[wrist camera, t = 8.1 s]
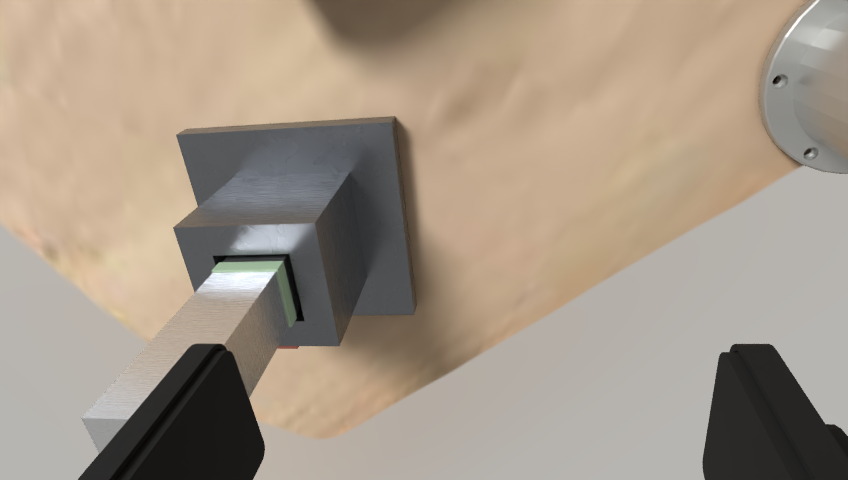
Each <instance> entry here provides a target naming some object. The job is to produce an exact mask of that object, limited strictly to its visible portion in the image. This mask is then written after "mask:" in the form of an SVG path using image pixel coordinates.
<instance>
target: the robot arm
mask: <svg viewBox="0 0 848 480" xmlns="http://www.w3.org/2000/svg"><path fill="white" fill-rule="evenodd" d="M776 76H778V79H777V81H775V82H774V83H772V82H773V80H774V78H775V77H776ZM759 108H760V113H761V119H762V122H763V124H764V126H765V128H766V131H767V133H768V135H769V136H770V138H771V139H772V140H773V141H774V143H775V144H776V145H777V146H778V148H780V149H781V150H782V151H784V152H785V153H786V154H787V155H789V156H790V157H791V158H793V159H794V160H796V161H798V162H799V163H801V164H803V165H805V166H808V167H811V168H814V169H817V170H820V171H825V172H832V173H839V174H847V173H848V0H809V1H808V2H806V3H805V4H804V5H803V6H802V7H801V8H800V9H799V10H798V11H797V12H796V13H795V15H794V16H793V17H792V18H791V19H790V20H789V21H788V23H787V24H786V25H785V26H784V28H783V29H782V31H781V33H780V34H779V36H778V37H777V39H776V40H775V42H774V43H773V45H772V47H771V50H770V52H769V54H768V57H767V59H766V61H765V63H764V66H763V71H762V75H761V79H760V83H759ZM807 149H808V150H807ZM806 150H807V151H806ZM805 151H806V152H805ZM264 451H265V445H264V441H263V438H262V435H261V432H260V429H259V426H258V423H257V421H256V418H255V415H254V412H253V409H252V406H251V403H250V400H249V397H248V395H247V392H246V389H245V386H244V383H243V380H242V377H241V374H240V371H239V369H238V366H237V363H236V360H235V357H234V355H233V353H232V352H231V351H227V349H226V347H225V346H224V345H223V344H204V343H196V344H193V345H191V346H190V347H189V348H188V349H187V350H186V352H185V353H184V354H183V355H182V356H181V358H180V359H179V360H178V361H177V362H176V364H175V365H174V366H173V367H172V368H171V369H170V371H169V372H168V373H167V374H166V375H165V377H164V378H163V379H162V380H161V381H160V383H159V384H158V385H157V386H156V387H155V388H154V390H153V391H152V392H151V393H150V394H149V396H148V397H147V398H146V399H145V400H144V401H143V403H142V404H141V405H140V406H139V407H138V409H137V410H136V411H135V412H134V413H133V415H132V416H131V417H130V418H129V419H128V420H127V422H126V423H125V424H124V425H123V426H122V428H121V429H120V430H119V431H118V432H117V434H116V435H115V436H114V437H113V438H112V439H111V441H110V442H109V443H108V444H107V445H106V447H105V448H104V449H103V450H102V451H101V453H100V454H99V455H98V456H97V457H96V459H95V460H94V461H93V462H92V463H91V464H90V466H89V467H88V468H87V469H86V470H85V472H84V473H83V474H82V475H81V476H80V477H79V479H78V480H253V478H254V476H255V474H256V472H257V470H258V468H259V466H260V464H261V462H262V460H263V457H264ZM703 473H704V477H705V480H848V436H847V435H846V434H845V433H844V431H842V429H841V428H839V427H837V426H836V425H829V424H825V423H824V422H823V420H822V419H821V417H820V416H819V414H818V413H817V411H816V409H815V408H814V406H813V405H812V403H811V402H810V400H809V399H808V397H807V396H806V394H805V393H804V392H803V390H802V388H801V387H800V385H799V384H798V382H797V381H796V379H795V378H794V376H793V375H792V373H791V372H790V370H789V369H788V367H787V366H786V364H785V362H784V361H783V360H782V358H781V356H780V355H779V353H778V352H777V350H776V349H775V348H774V347H773V346H772V345H770V344H734V345H732V347H731V349H730V352H723V353H721V354H720V356H719V361H718V367H717V373H716V379H715V386H714V392H713V398H712V405H711V411H710V417H709V423H708V429H707V436H706V443H705V449H704V455H703Z"/></svg>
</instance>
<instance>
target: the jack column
mask: <svg viewBox="0 0 848 480" xmlns="http://www.w3.org/2000/svg"><path fill="white" fill-rule="evenodd" d="M300 307H301V303H300V299H299V294H298V290H297V286H296V281H295V277H294V273H293V269H292V264H291V260H290V256H289V254H263V255H228V257H227V258H226V259H225V260H224V261H223V262H219V263H218V264H217V265H216V266H215V267H214V268H213V270H212V274H211V275H210V276H209V278H208V279H207V280H206V281H205V282H204V283H203V284H202V285H201V286H200V287H199V289H198V290H197V291H196V292H195V293H194V294H193V295H192V296H191V297H190V299H189V300H188V301H187V302H186V303H185V304H184V305H183V306H182V307H181V308H180V310H179V311H178V312H177V313H176V314H175V315H174V316H173V317H172V318H171V320H170V321H169V322H168V323H167V324H166V325H165V326H164V327H163V328H162V329H161V331H160V332H159V333H158V334H157V335H156V336H155V337H154V338H153V339H152V341H151V342H150V343H149V344H148V345H147V346H146V347H145V348H144V349H143V350H142V352H141V353H140V354H139V355H138V356H137V357H136V358H135V360H133V362H132V363H131V364H130V365H129V366H128V367H127V368H126V369H125V370H124V371H123V373H122V374H121V375H120V376H119V377H118V378H117V379H116V380H115V381H114V383H113V384H112V385H111V386H110V387H109V388H108V389H107V390H106V391H105V393H104V394H103V395H102V396H101V397H100V398H99V399H98V400H97V401H96V403H95V404H94V405H93V406H92V407H91V408H90V409H89V410H88V411H87V413H85V415H84V416H83V417H82V420H83V422H84V424H85V426H86V428H87V430H88V432H89V434H90V436H91V438H92V440H93V442H94V444H95V446H96V448H97V450H98V452H99V454H100V453H101V451H102V450H103V449H104V448H105V447H106V445H107V444H108V443H109V442H110V441H111V439H112V438H113V437H114V436H115V435H116V434H117V432H118V431H119V430H120V429H121V428H122V426H123V425H124V424H125V423H126V422H127V420H128V419H129V418H130V417H131V416H132V415H133V413H134V412H135V411H136V410H137V409H138V407H139V406H140V405H141V404H142V403H143V401H144V400H145V399H146V398H147V397H148V396H149V394H150V393H151V392H152V391H153V390H154V388H155V387H156V386H157V385H158V384H159V383H160V381H161V380H162V379H163V378H164V377H165V375H166V374H167V373H168V372H169V371H170V369H171V368H172V367H173V366H174V365H175V364H176V362H177V361H178V360H179V359H180V358H181V356H182V355H183V354H184V353H185V352H186V350H187V349H188V348H189V347H190V346H191V345H193V344H196V343H204V344H223V345H224V346H225V347H226V349H227V351H231V352H232V353H233V355H234V357H235V360H236V363H237V366H238V369H239V371H240V374H241V377H242V380H243V383H244V386H245V389H246V392H247V395H248V397H250V396H251V394H252V392H253V390H254V388H255V387H256V385H257V383H258V381H259V380H260V378H261V376H262V374H263V372H264V371H265V369H266V367H267V365H268V364H269V362H270V360H271V358H272V357H273V355H274V353H275V351H276V349H277V348H278V346H279V344H280V342H281V341H282V339H283V337H284V335H285V333H286V332H287V330H288V328H289V327H292V326H293V324H294V322H295V320H296V318H297V316H296V314H297V312H298V310H299V309H300Z"/></svg>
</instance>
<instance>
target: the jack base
mask: <svg viewBox="0 0 848 480" xmlns="http://www.w3.org/2000/svg"><path fill="white" fill-rule="evenodd" d="M176 136H177V139H178V142H179V146H180V149H181V152H182V155H183V159H184V162H185V165H186V169H187V172H188V175H189V178H190V182H191V185H192V188H193V192H194V195H195V198H196V201H197V205H198V208H196V209H195V210H194V211H193V212H191V213H190V214H189V215H188V216H187V217H185V218H184V219H183V220H182V221H181V222H179V223H178V224H177V225H176V226H175V227H173V229H174V232H175V235H176V238H177V241H178V244H179V247H180V250H181V253H182V256H183V259H184V262H185V265H186V268H187V271H188V274H189V277H190V280H191V283H192V286H193V289H194V292H196V291H197V290H198V289H199V287H200V286H201V285H202V284H203V283H204V282H205V281H206V280H207V279H208V278H209V276H210V275H211V274H212V270H213V268H214V267H215V266H216V265H217V264H218V263H219V262H223V261H224V260H225V259H226V258H227V257H228V255H263V254H289V256H290V260H291V264H292V269H293V273H294V277H295V281H296V286H297V290H298V294H299V299H300V303H301V307H300V309H299V310H298V312H297V314H296V316H297V318H296V320H295V322H294V324H293V326H292V327H289V328H288V330H287V332H286V333H285V335H284V337H283V339H282V341H281V342H280V344H279V346H278V348H279V349H298V347H299V346H340V343H341V341H342V339H343V336H344V334H345V331H346V329H347V326H348V324H349V321H350V319H351V316H352V315H414V313H415V309H416V305H417V304H416V295H415V286H414V278H413V269H412V260H411V252H410V243H409V234H408V226H407V217H406V208H405V200H404V191H403V182H402V174H401V165H400V156H399V148H398V139H397V130H396V122H395V116H394V117H378V118H361V119H345V120H328V121H312V122H295V123H279V124H262V125H246V126H229V127H213V128H196V129H186V130H184V131H182V132H180V133H179V134H177V135H176Z"/></svg>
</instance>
